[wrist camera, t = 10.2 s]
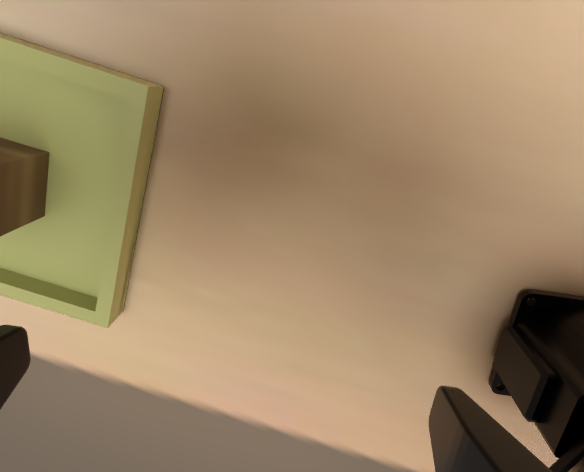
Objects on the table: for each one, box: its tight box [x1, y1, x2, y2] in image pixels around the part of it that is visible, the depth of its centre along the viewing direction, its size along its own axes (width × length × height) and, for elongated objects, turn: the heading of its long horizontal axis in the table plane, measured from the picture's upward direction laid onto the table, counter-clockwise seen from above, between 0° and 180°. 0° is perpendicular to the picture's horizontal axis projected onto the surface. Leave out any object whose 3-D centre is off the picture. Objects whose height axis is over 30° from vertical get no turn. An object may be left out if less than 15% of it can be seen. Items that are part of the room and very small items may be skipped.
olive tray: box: [0, 33, 164, 328], centre depth 21 cm, size 13×13×2 cm
